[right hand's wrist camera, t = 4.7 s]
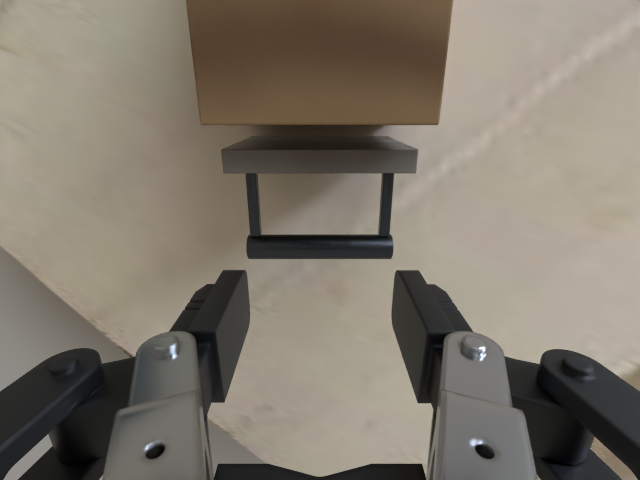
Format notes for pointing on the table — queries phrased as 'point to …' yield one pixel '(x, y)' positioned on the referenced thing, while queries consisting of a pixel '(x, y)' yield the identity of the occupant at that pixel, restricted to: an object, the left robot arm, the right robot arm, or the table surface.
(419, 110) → the cabinet
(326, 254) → the drawer
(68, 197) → the table surface
